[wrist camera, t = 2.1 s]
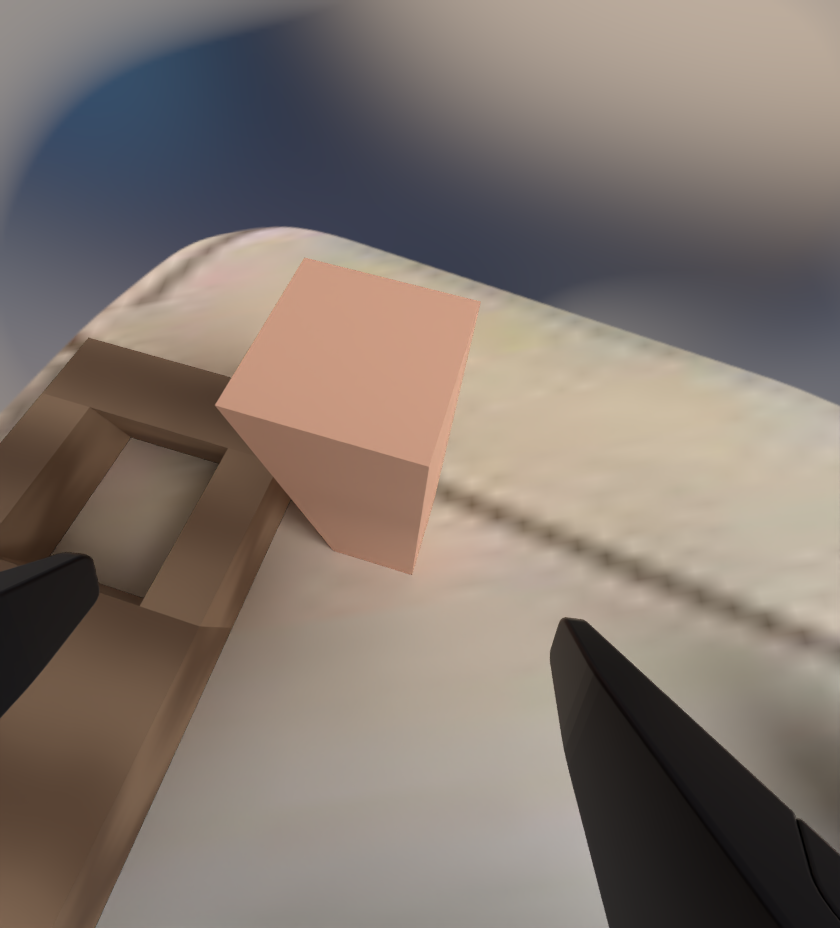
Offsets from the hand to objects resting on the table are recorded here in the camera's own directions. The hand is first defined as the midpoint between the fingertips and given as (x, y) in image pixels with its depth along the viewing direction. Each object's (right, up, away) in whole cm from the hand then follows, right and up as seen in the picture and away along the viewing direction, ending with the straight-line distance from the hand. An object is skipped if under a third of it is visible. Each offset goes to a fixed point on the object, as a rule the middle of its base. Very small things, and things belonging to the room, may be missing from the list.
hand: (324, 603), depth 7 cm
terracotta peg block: (0, 0, +12) cm, 12 cm away
